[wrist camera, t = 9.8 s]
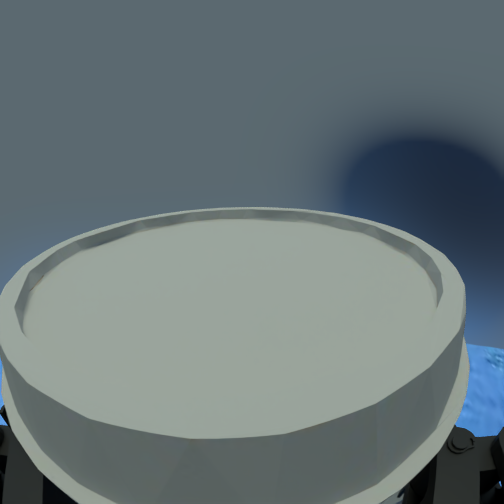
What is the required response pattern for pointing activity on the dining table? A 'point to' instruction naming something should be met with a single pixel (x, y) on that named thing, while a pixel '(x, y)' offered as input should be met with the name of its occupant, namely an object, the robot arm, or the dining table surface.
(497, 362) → the dining table surface
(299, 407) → the disposable coffee cup
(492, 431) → the dining table surface
